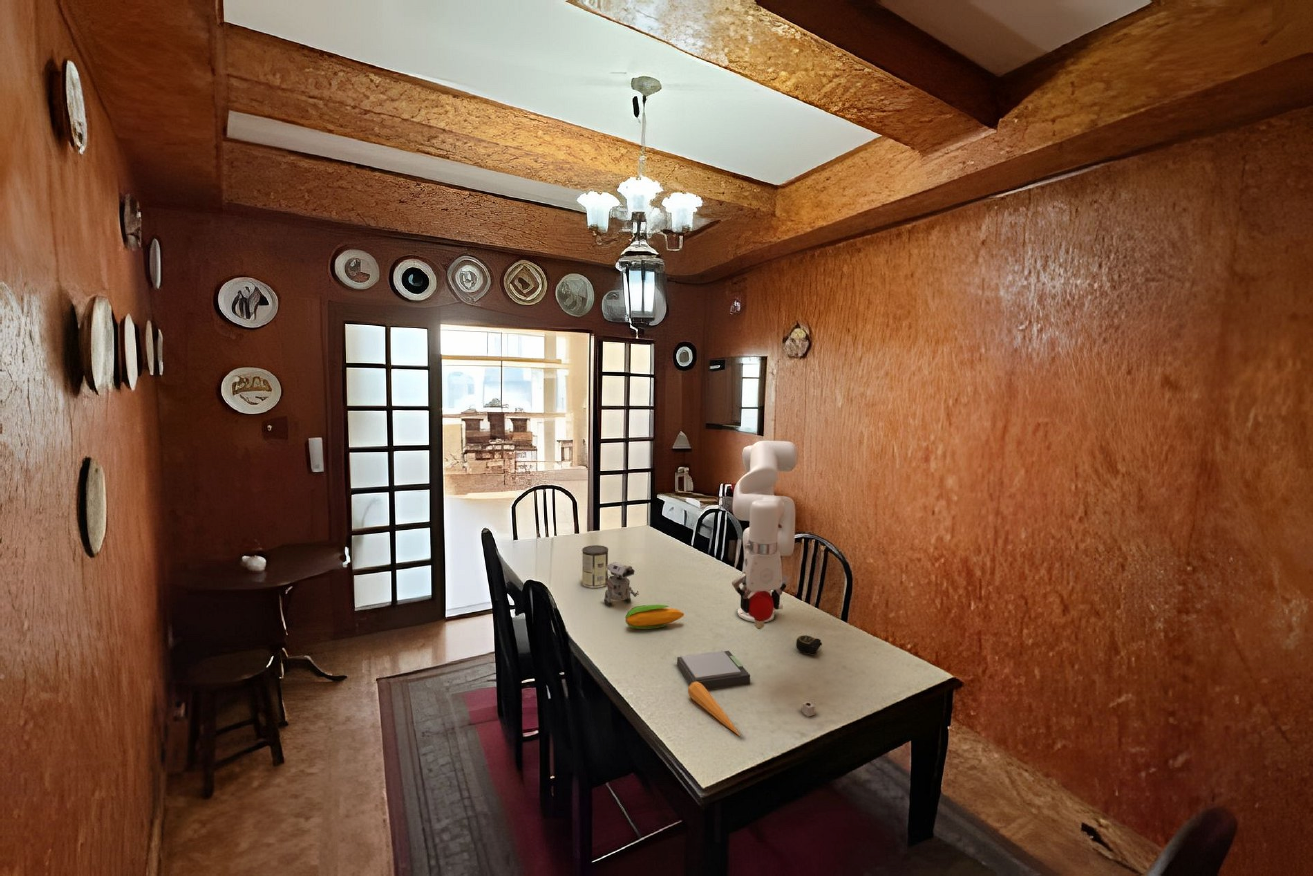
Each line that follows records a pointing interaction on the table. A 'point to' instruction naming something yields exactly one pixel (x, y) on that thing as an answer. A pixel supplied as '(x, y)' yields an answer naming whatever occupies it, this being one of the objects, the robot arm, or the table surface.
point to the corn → (651, 616)
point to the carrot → (709, 704)
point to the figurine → (618, 583)
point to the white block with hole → (808, 709)
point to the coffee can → (594, 566)
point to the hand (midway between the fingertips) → (759, 609)
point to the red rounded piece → (760, 607)
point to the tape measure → (808, 644)
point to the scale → (713, 669)
